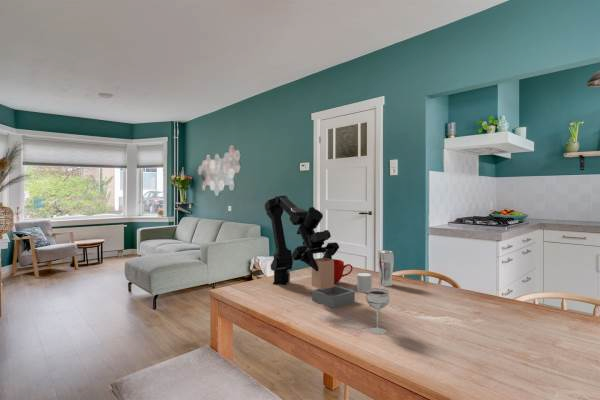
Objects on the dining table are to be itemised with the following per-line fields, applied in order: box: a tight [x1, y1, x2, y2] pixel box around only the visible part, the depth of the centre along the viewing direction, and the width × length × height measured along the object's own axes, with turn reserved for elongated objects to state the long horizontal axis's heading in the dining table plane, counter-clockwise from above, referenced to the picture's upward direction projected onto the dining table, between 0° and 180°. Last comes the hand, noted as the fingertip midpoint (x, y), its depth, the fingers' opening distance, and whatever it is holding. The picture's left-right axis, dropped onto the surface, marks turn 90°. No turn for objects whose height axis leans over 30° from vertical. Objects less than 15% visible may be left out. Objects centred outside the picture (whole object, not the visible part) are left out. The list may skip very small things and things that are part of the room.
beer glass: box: [377, 249, 395, 288], centre depth 150 cm, size 7×7×15 cm
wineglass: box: [365, 287, 390, 335], centre depth 101 cm, size 7×7×12 cm
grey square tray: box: [311, 284, 356, 309], centre depth 128 cm, size 12×12×4 cm
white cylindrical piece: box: [355, 272, 373, 294], centre depth 141 cm, size 7×7×7 cm
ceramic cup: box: [332, 258, 354, 286], centre depth 152 cm, size 13×17×10 cm
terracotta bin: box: [311, 257, 334, 290], centre depth 124 cm, size 6×6×10 cm
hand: (324, 269), depth 123 cm, fingers closed on terracotta bin, 6 cm apart
